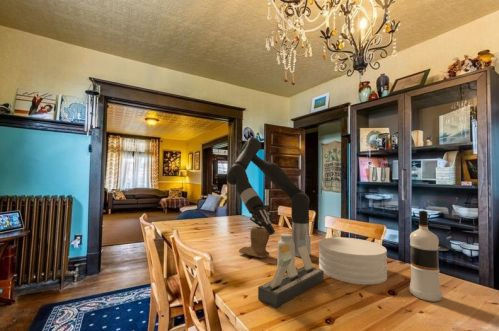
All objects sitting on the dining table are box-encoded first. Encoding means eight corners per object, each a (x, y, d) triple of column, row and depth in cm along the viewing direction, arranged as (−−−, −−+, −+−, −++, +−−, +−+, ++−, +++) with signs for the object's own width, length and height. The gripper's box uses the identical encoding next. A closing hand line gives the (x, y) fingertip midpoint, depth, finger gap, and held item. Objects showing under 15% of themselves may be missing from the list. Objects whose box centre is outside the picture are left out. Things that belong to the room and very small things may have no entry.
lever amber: (289, 279, 86) (278, 247, 90) (296, 276, 89) (285, 245, 94) (292, 279, 85) (281, 246, 90) (299, 275, 89) (288, 244, 93)
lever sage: (268, 287, 79) (280, 258, 76) (277, 283, 82) (289, 255, 79) (271, 290, 78) (284, 261, 75) (280, 286, 81) (292, 258, 78)
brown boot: (274, 255, 126) (274, 226, 127) (262, 261, 116) (262, 230, 117) (250, 249, 135) (251, 223, 136) (238, 255, 125) (238, 226, 126)
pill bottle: (296, 266, 110) (296, 233, 111) (292, 272, 103) (292, 237, 104) (280, 263, 113) (280, 232, 114) (274, 269, 106) (275, 235, 107)
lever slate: (305, 271, 94) (295, 242, 98) (311, 269, 97) (301, 240, 101) (308, 271, 93) (297, 241, 97) (314, 268, 96) (303, 239, 100)
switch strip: (258, 299, 80) (258, 286, 80) (306, 274, 101) (306, 264, 101) (276, 308, 74) (276, 294, 74) (323, 280, 95) (323, 270, 95)
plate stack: (394, 270, 107) (393, 245, 107) (376, 292, 86) (375, 260, 87) (334, 256, 126) (333, 234, 127) (307, 270, 105) (307, 244, 106)
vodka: (424, 303, 79) (421, 212, 80) (403, 290, 88) (401, 209, 89) (449, 302, 79) (446, 212, 81) (426, 289, 89) (424, 209, 90)
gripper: (257, 205, 112) (277, 236, 102) (236, 207, 102) (256, 241, 93) (266, 194, 108) (287, 225, 99) (245, 195, 99) (267, 230, 89)
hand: (272, 233), depth 96 cm, fingers closed
